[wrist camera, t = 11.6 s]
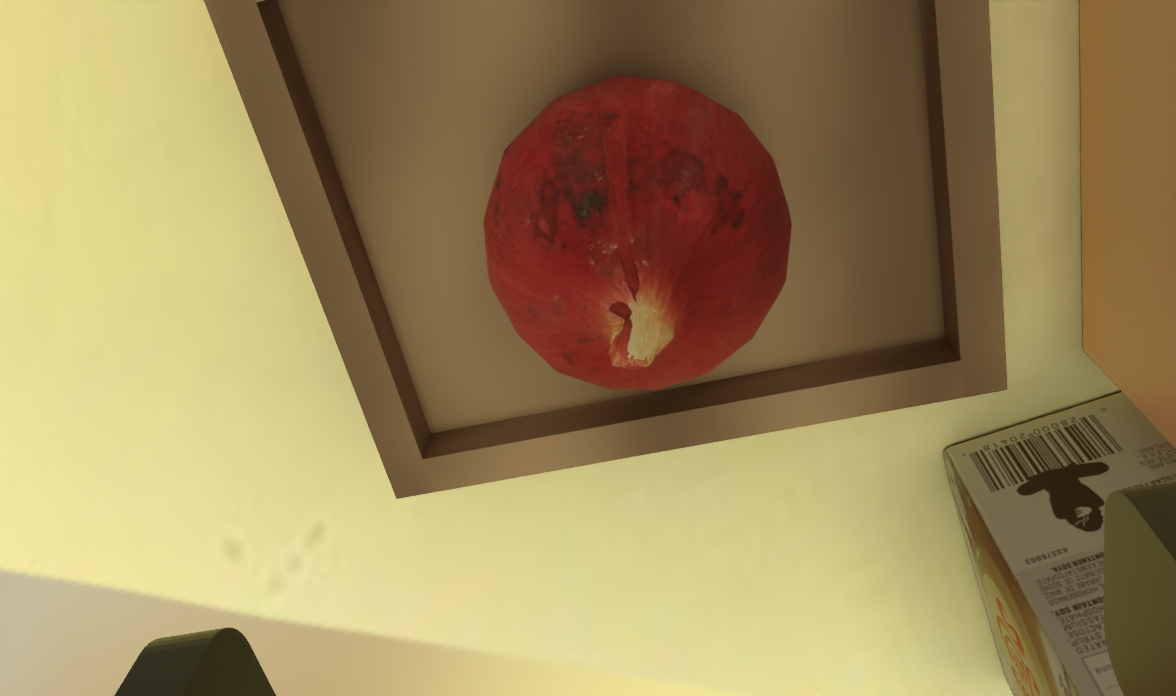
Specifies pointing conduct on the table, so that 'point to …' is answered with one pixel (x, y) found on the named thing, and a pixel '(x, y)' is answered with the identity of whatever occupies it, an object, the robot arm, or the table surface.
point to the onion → (636, 233)
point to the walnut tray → (570, 62)
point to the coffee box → (1052, 535)
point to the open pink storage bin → (1130, 199)
